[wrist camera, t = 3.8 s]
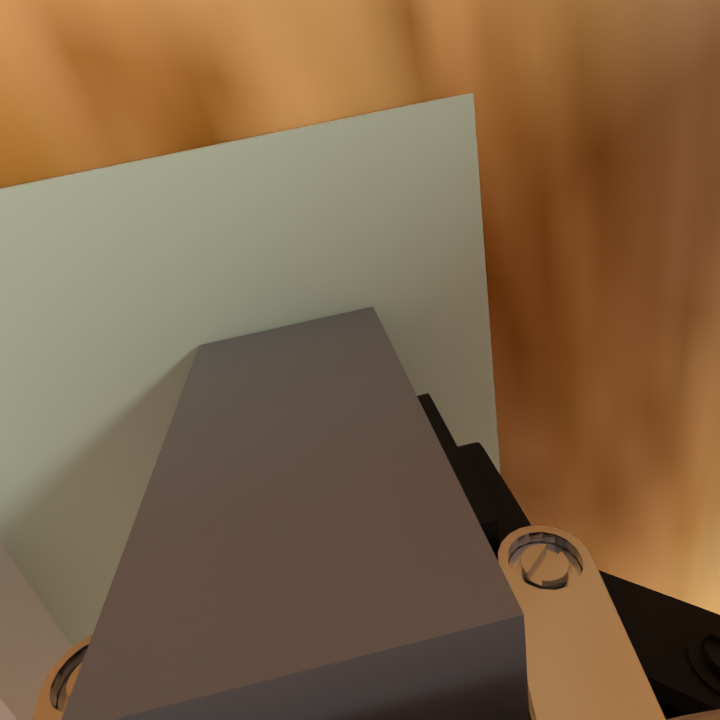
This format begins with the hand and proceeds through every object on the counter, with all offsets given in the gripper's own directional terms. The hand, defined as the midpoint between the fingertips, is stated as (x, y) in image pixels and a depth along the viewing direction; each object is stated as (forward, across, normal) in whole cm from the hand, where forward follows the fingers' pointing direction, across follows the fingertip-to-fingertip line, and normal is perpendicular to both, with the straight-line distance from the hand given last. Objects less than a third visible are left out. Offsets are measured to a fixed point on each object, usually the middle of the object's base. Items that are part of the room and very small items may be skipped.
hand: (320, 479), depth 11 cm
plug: (+2, 0, 0) cm, 2 cm away
